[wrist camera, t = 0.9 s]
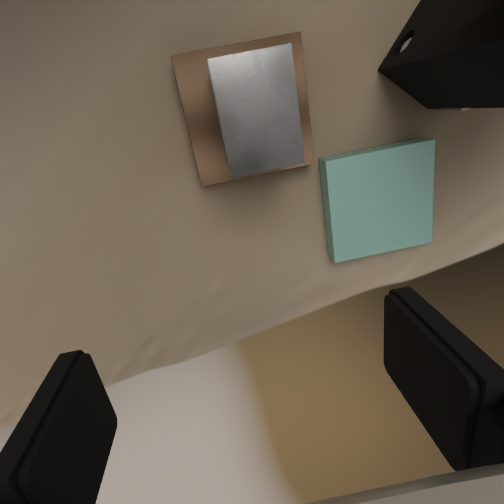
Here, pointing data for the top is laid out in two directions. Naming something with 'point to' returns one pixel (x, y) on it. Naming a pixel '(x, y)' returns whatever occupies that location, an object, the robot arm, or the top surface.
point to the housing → (257, 109)
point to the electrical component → (451, 55)
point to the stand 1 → (204, 112)
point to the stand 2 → (378, 198)
